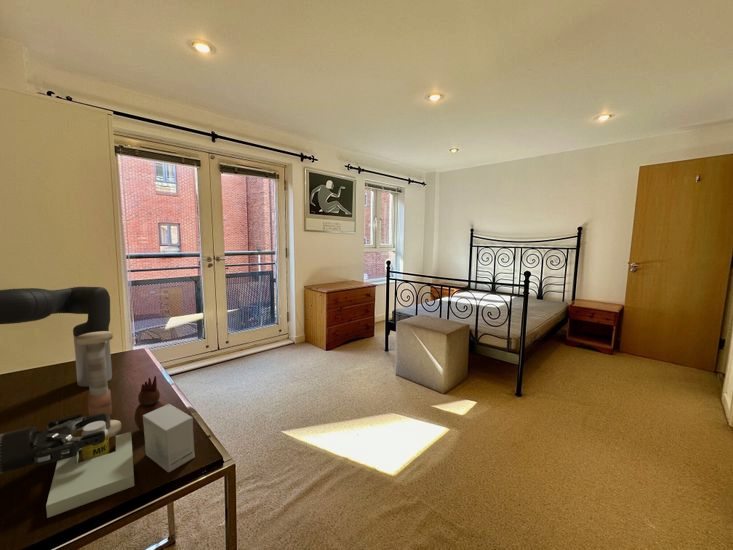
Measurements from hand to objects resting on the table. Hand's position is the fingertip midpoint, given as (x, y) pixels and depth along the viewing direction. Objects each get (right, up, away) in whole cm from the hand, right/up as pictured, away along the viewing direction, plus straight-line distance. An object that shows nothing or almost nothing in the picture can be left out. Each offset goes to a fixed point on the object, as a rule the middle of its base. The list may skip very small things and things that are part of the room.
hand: (105, 426), depth 74 cm
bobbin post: (-8, -6, +9) cm, 14 cm away
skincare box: (+14, -8, +1) cm, 16 cm away
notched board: (+2, -8, -5) cm, 9 cm away
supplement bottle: (-2, -8, 0) cm, 8 cm away
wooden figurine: (+3, -6, +11) cm, 13 cm away
